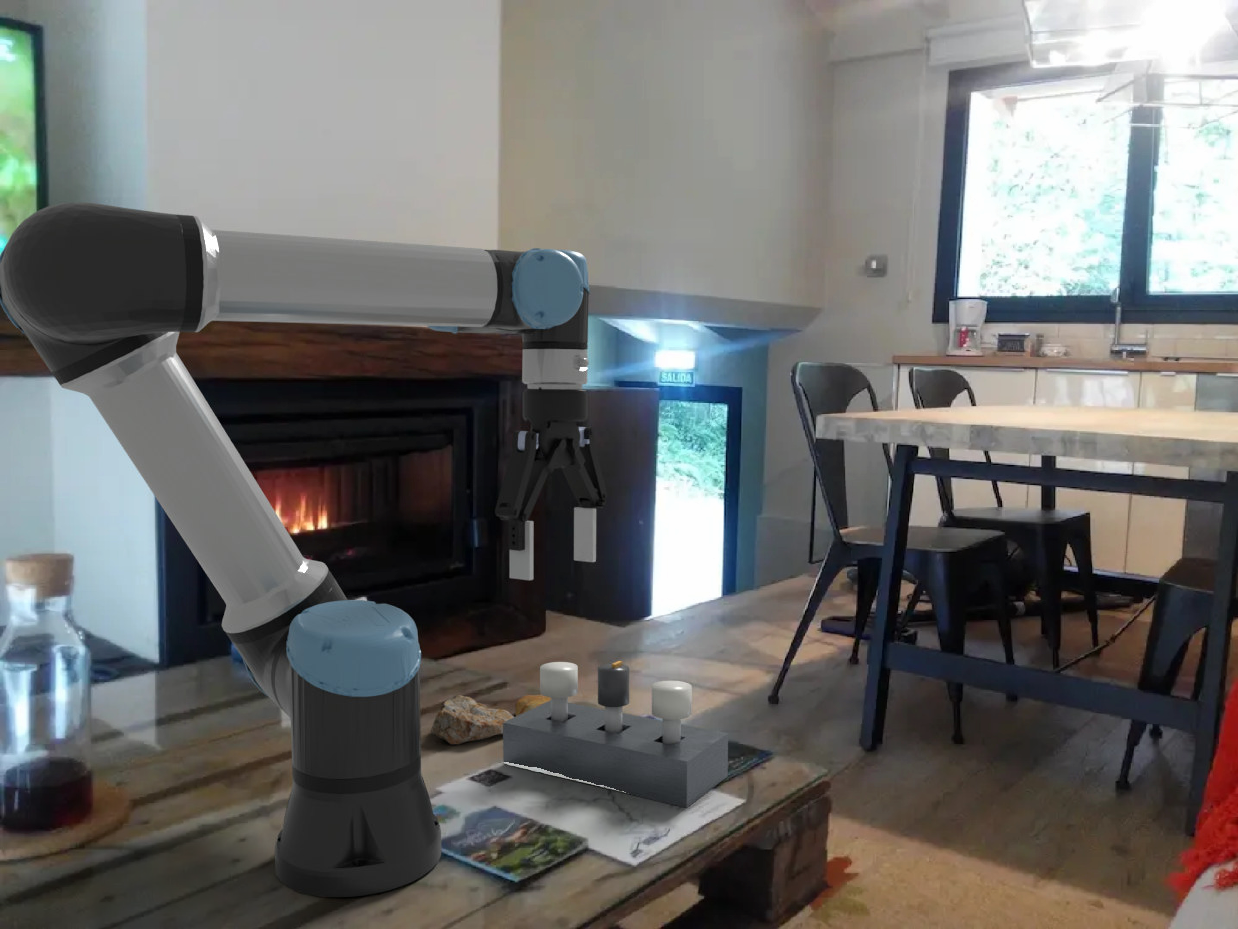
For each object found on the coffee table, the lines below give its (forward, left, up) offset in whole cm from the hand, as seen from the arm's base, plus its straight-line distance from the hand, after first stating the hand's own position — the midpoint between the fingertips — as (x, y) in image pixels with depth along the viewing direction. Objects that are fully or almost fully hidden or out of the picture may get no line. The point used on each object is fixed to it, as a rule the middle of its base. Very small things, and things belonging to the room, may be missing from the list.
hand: (554, 569), depth 123 cm
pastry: (+9, +9, -23) cm, 26 cm away
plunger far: (0, -1, -19) cm, 19 cm away
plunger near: (0, -16, -19) cm, 25 cm away
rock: (+1, +14, -23) cm, 27 cm away
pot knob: (0, -8, -19) cm, 21 cm away
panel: (0, -8, -22) cm, 24 cm away
